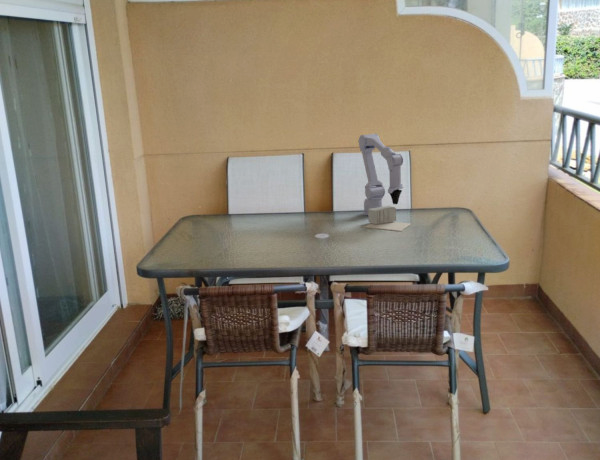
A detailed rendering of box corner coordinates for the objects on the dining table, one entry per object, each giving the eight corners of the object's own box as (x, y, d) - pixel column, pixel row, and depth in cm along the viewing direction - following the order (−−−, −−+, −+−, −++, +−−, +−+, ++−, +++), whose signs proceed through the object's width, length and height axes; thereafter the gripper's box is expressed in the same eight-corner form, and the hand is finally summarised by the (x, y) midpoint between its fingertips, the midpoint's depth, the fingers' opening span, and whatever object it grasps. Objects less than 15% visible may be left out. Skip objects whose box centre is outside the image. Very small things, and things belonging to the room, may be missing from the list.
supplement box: (389, 219, 320) (368, 222, 315) (388, 205, 318) (367, 208, 313) (396, 221, 313) (375, 224, 308) (396, 207, 311) (374, 210, 307)
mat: (364, 227, 307) (364, 226, 307) (376, 220, 318) (375, 220, 318) (401, 231, 297) (401, 230, 297) (411, 224, 308) (411, 223, 308)
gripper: (396, 181, 301) (397, 207, 305) (407, 176, 313) (407, 201, 317) (383, 180, 305) (384, 206, 309) (395, 175, 317) (395, 200, 320)
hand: (395, 203), depth 313 cm, fingers closed
